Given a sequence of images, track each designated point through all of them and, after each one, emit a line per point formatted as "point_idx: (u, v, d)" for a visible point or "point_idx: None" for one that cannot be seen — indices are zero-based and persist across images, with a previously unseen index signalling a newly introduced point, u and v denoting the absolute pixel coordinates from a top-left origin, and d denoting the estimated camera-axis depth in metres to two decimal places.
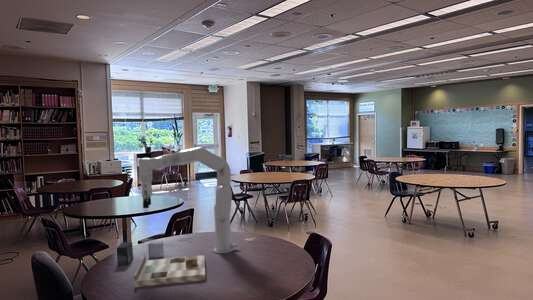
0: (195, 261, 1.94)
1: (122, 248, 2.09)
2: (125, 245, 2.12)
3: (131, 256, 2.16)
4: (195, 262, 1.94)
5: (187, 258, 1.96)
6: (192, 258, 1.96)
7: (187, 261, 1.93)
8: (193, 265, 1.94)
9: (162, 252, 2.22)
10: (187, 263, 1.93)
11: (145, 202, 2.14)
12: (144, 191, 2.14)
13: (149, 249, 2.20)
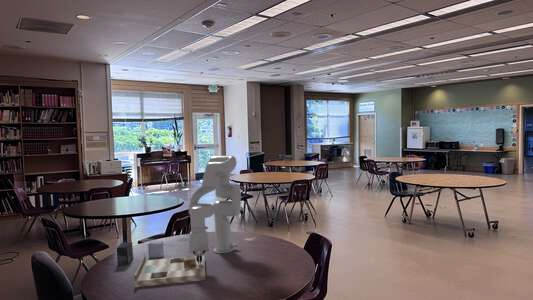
0: (193, 261, 1.94)
1: (122, 248, 2.09)
2: (125, 245, 2.12)
3: (131, 256, 2.16)
4: (193, 262, 1.94)
5: (185, 258, 1.96)
6: (190, 258, 1.95)
7: (185, 261, 1.93)
8: (191, 265, 1.94)
9: (162, 252, 2.22)
10: (185, 264, 1.93)
11: None
12: None
13: (149, 249, 2.20)
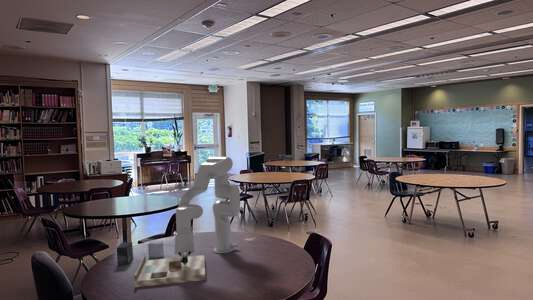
0: (178, 263, 1.92)
1: (122, 248, 2.09)
2: (125, 245, 2.12)
3: (131, 256, 2.16)
4: (178, 264, 1.92)
5: (170, 260, 1.94)
6: (175, 260, 1.94)
7: (170, 263, 1.92)
8: (176, 267, 1.92)
9: (162, 252, 2.22)
10: (170, 265, 1.92)
11: (187, 257, 1.96)
12: None
13: (149, 249, 2.20)
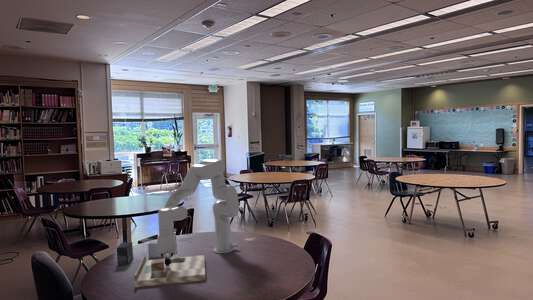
0: (161, 264, 1.91)
1: (122, 248, 2.09)
2: (125, 245, 2.12)
3: (131, 256, 2.16)
4: (161, 265, 1.91)
5: (153, 261, 1.92)
6: (158, 261, 1.92)
7: (153, 264, 1.90)
8: (159, 268, 1.91)
9: None
10: (152, 267, 1.90)
11: (170, 259, 1.94)
12: None
13: (149, 249, 2.20)
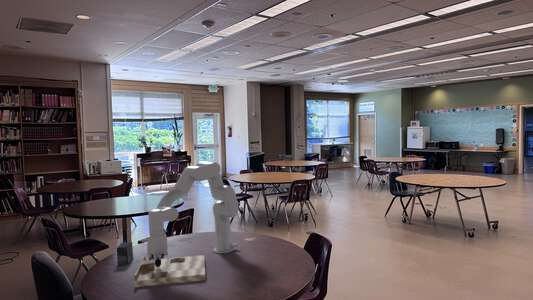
0: (151, 265, 1.90)
1: (122, 248, 2.09)
2: (125, 245, 2.12)
3: (131, 256, 2.16)
4: (151, 266, 1.90)
5: (143, 262, 1.92)
6: (148, 262, 1.91)
7: (143, 265, 1.89)
8: (149, 269, 1.90)
9: None
10: (142, 268, 1.89)
11: (160, 260, 1.93)
12: None
13: None
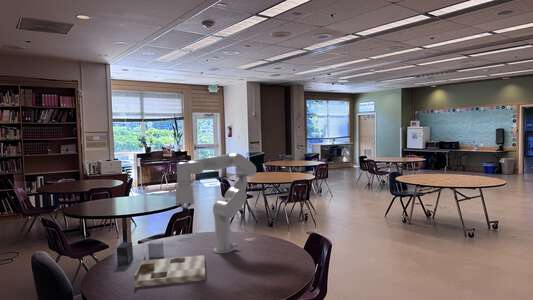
0: (151, 265, 1.90)
1: (122, 248, 2.09)
2: (125, 245, 2.12)
3: (131, 256, 2.16)
4: (151, 266, 1.90)
5: (143, 262, 1.92)
6: (148, 262, 1.91)
7: (143, 265, 1.89)
8: (149, 269, 1.90)
9: (162, 252, 2.22)
10: (142, 268, 1.89)
11: (187, 208, 2.13)
12: None
13: (149, 249, 2.20)
